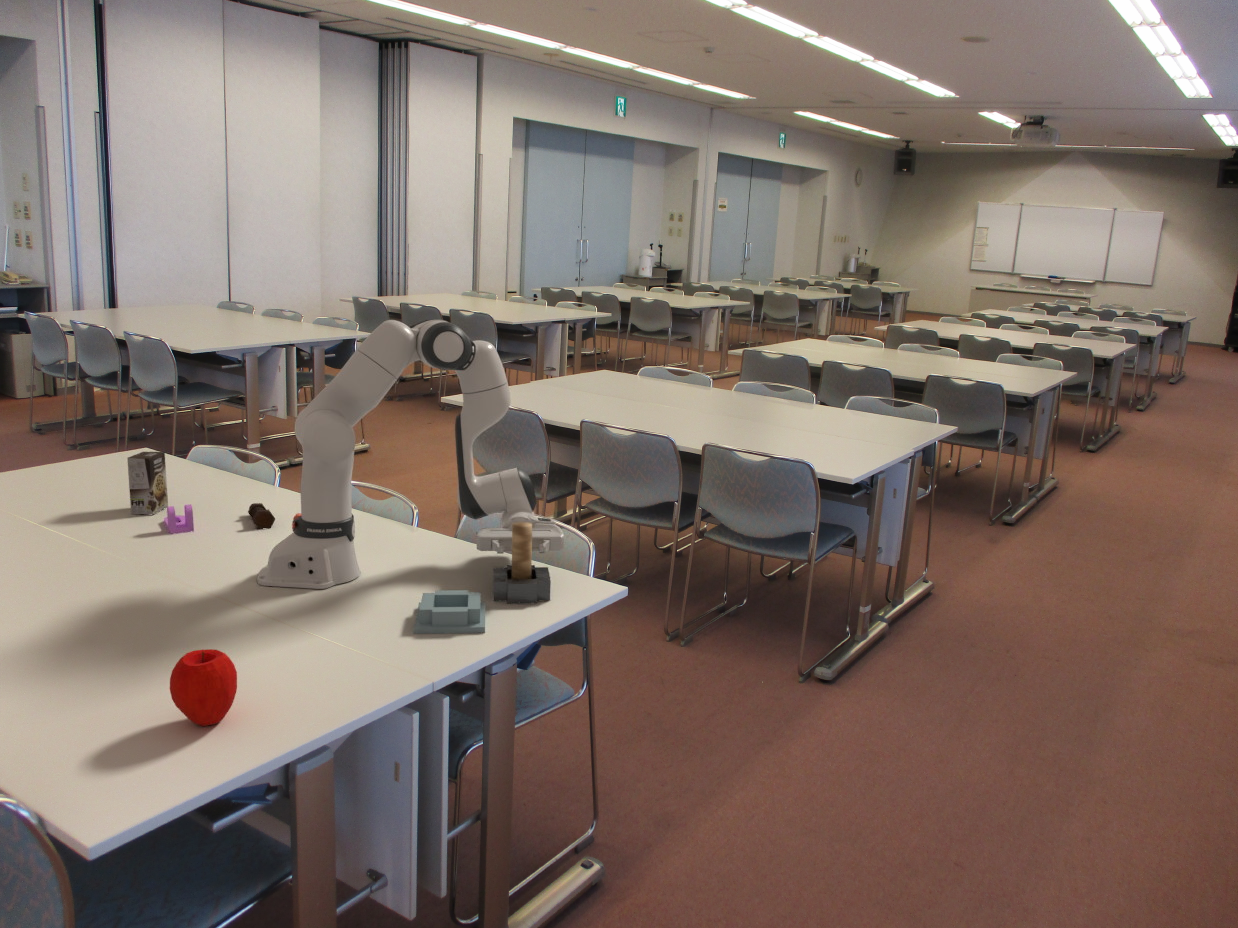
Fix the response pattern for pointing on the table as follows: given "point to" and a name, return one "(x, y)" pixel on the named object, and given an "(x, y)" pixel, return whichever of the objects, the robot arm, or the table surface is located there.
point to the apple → (204, 686)
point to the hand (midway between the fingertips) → (521, 550)
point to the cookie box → (147, 482)
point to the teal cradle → (450, 613)
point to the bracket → (185, 521)
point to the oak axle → (521, 550)
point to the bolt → (261, 516)
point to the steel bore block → (521, 586)
